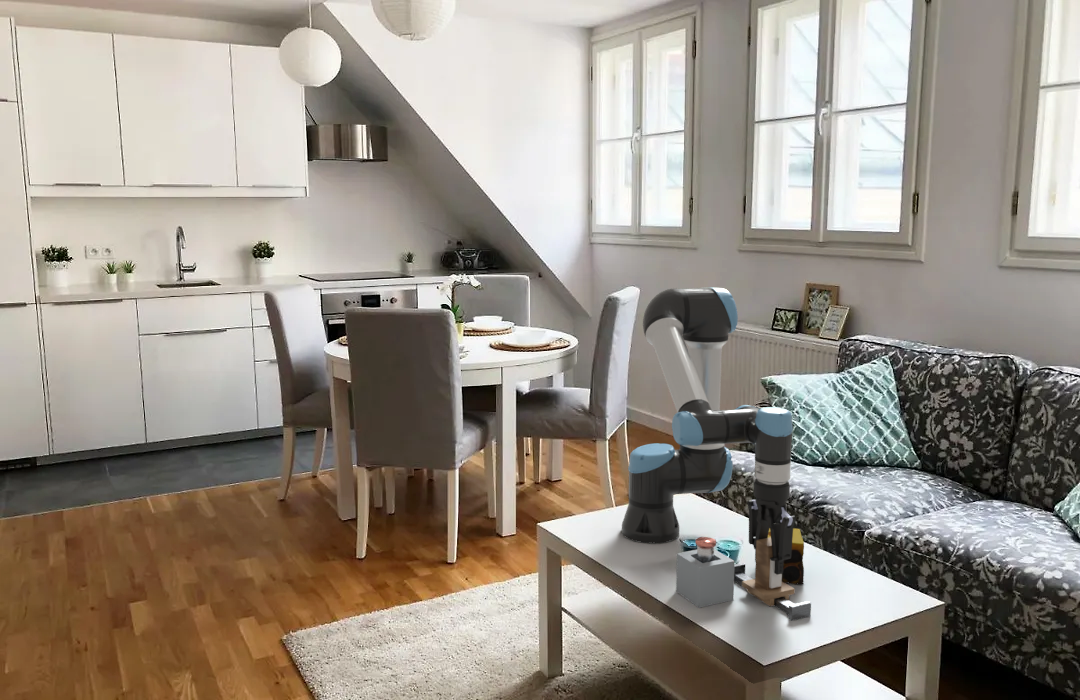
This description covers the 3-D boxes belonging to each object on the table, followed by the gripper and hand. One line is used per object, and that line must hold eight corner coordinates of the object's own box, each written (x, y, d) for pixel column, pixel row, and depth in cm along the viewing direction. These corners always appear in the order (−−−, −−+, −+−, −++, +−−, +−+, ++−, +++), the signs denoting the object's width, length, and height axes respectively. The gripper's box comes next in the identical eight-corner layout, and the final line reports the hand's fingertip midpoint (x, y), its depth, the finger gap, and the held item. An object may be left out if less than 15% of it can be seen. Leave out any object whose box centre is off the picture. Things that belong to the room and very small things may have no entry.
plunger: (691, 559, 197) (691, 538, 196) (707, 556, 199) (708, 535, 198) (702, 566, 193) (703, 545, 192) (719, 563, 195) (720, 542, 194)
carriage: (741, 593, 198) (743, 538, 196) (770, 586, 201) (772, 532, 199) (764, 607, 191) (766, 550, 189) (794, 600, 194) (796, 544, 192)
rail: (724, 578, 206) (725, 566, 206) (742, 575, 208) (742, 562, 208) (791, 620, 185) (792, 607, 185) (810, 616, 187) (811, 602, 187)
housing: (676, 591, 200) (676, 553, 198) (709, 584, 203) (710, 546, 202) (698, 607, 191) (699, 568, 190) (733, 600, 195) (734, 561, 194)
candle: (803, 586, 202) (805, 544, 201) (758, 582, 204) (759, 541, 203) (800, 568, 212) (801, 528, 211) (756, 565, 214) (757, 525, 213)
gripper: (733, 471, 198) (730, 571, 202) (784, 493, 183) (779, 601, 186) (760, 467, 201) (757, 565, 205) (812, 488, 186) (808, 594, 189)
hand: (768, 582), depth 195 cm, fingers closed on carriage, 4 cm apart
